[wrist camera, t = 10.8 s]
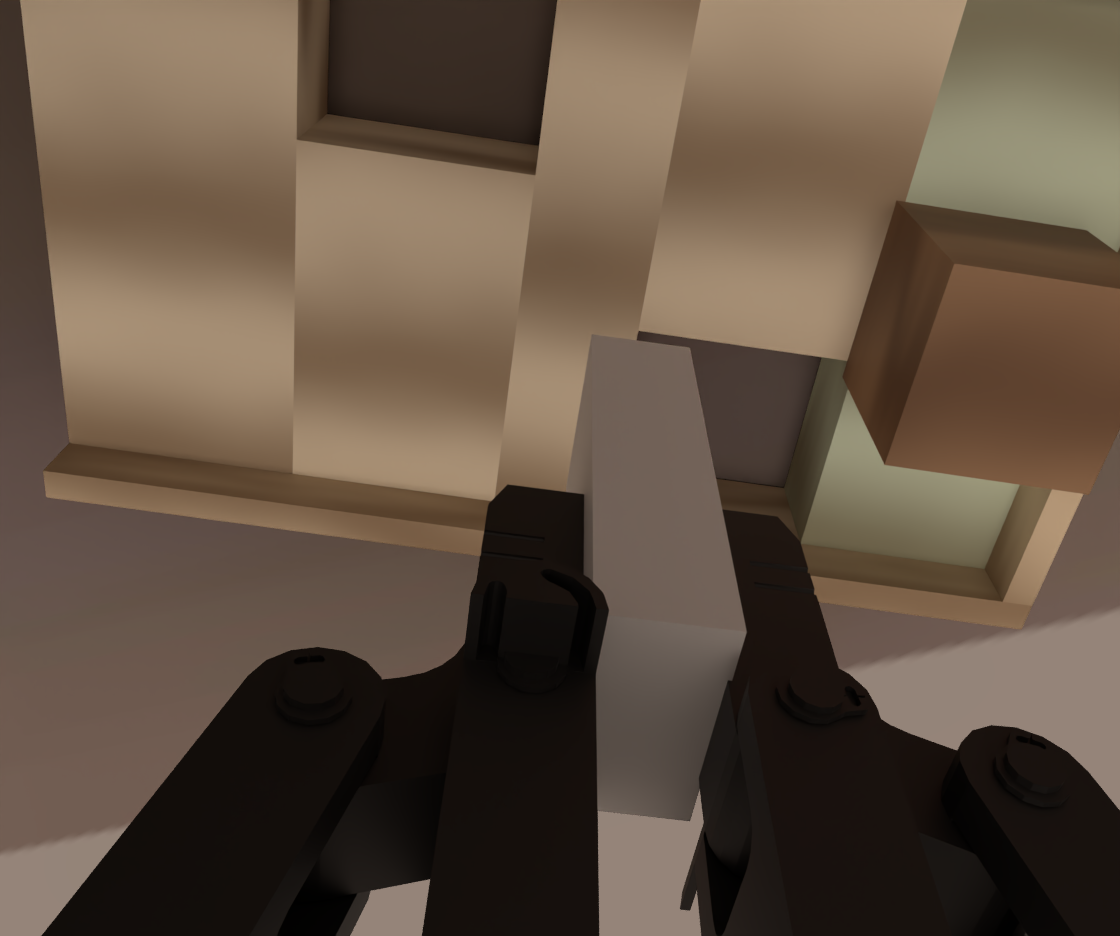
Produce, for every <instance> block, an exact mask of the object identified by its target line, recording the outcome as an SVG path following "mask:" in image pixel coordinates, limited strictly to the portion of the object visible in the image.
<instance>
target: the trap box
mask: <svg viewBox="0 0 1120 936" xmlns="http://www.w3.org/2000/svg"><path fill="white" fill-rule="evenodd" d="M20 3H21V12H22V21H23V30H24V39H25V48H26V57H27V66H28V75H29V84H30V93H31V102H32V111H33V120H34V129H35V138H36V147H37V156H38V165H39V174H40V183H41V192H42V201H43V210H44V219H45V228H46V237H47V246H48V255H49V264H50V273H51V282H52V291H53V300H54V309H55V318H56V327H57V336H58V345H59V354H60V363H61V372H62V381H63V390H64V399H65V408H66V417H67V426H68V435H69V444H68V445H67V446H66V447H65V448H64V449H63V450H62V451H61V452H60V453H59V455H58V456H57V457H56V458H55V459H54V460H53V461H52V462H51V463H50V464H49V465H48V466H47V467H46V468H45V469H44V470H43V474H44V482H45V490H46V497H49V498H56V499H63V500H71V501H78V502H86V503H93V504H100V505H108V506H115V507H122V508H130V509H137V510H144V511H152V512H159V513H167V514H174V515H181V516H189V517H196V518H203V519H211V520H218V521H226V522H233V523H240V524H248V525H255V526H262V527H270V528H277V529H284V530H292V531H299V532H307V533H314V534H321V535H329V536H336V537H343V538H351V539H358V540H366V541H373V542H380V543H388V544H395V545H402V546H410V547H417V548H424V549H432V550H439V551H447V552H454V553H461V554H469V555H476V556H480V555H481V548H482V541H483V535H484V528H485V522H486V515H487V508H488V504H489V503H490V502H491V501H492V500H493V499H494V498H495V497H496V496H497V495H498V494H499V493H500V492H501V491H502V490H503V489H504V488H505V486H506V485H507V484H509V485H517V486H524V487H532V488H540V489H547V490H555V491H563V492H566V485H567V479H568V473H569V467H570V461H571V455H572V449H573V443H574V437H575V431H576V425H577V419H578V413H579V407H580V401H581V395H582V389H583V383H584V377H585V371H586V365H587V359H588V353H589V347H590V341H591V335H592V334H593V335H601V336H608V337H615V338H623V339H630V340H637V335H638V331H644V332H651V333H657V334H664V335H671V336H678V337H685V338H692V339H699V340H706V341H713V342H720V343H727V344H734V345H741V346H747V347H754V348H761V349H768V350H775V351H782V352H789V353H796V354H803V355H810V356H817V357H822V358H821V361H820V365H819V368H818V372H817V375H816V379H815V382H814V386H813V389H812V393H811V396H810V400H809V403H808V407H807V410H806V414H805V417H804V420H803V424H802V427H801V431H800V434H799V438H798V441H797V445H796V448H795V452H794V455H793V459H792V462H791V466H790V469H789V473H788V476H787V480H786V483H785V486H784V488H779V487H772V486H765V485H758V484H751V483H744V482H736V481H729V480H722V479H716V481H717V486H718V491H719V496H720V501H721V506H722V509H724V510H731V511H739V512H747V513H755V514H762V515H770V516H778V518H779V519H780V520H781V521H782V522H783V523H784V524H785V525H786V526H787V527H788V529H789V530H790V531H791V532H792V533H793V534H794V535H795V536H796V537H797V539H798V540H799V541H800V543H801V546H802V549H803V552H804V556H805V559H806V562H807V566H808V573H810V576H811V579H812V582H813V586H814V589H815V591H814V595H817V599H818V602H822V603H830V604H837V605H844V606H852V607H859V608H867V609H874V610H881V611H889V612H896V613H903V614H911V615H918V616H926V617H933V618H940V619H948V620H955V621H962V622H970V623H977V624H984V625H992V626H999V627H1007V628H1014V629H1022V627H1023V625H1024V622H1025V620H1026V618H1027V616H1028V614H1029V612H1030V609H1031V607H1032V605H1033V603H1034V601H1035V598H1036V596H1037V594H1038V592H1039V590H1040V588H1041V585H1042V583H1043V581H1044V579H1045V577H1046V574H1047V572H1048V570H1049V568H1050V566H1051V563H1052V561H1053V559H1054V557H1055V555H1056V553H1057V550H1058V548H1059V546H1060V544H1061V542H1062V539H1063V537H1064V535H1065V533H1066V531H1067V529H1068V526H1069V524H1070V522H1071V520H1072V518H1073V515H1074V513H1075V511H1076V509H1077V507H1078V504H1079V502H1080V500H1081V498H1082V496H1083V494H1080V493H1073V492H1066V491H1059V490H1053V489H1046V488H1039V487H1032V486H1025V485H1018V484H1011V483H1005V482H998V481H991V480H984V479H977V478H970V477H963V476H957V475H950V474H943V473H936V472H929V471H922V470H916V469H909V468H902V467H895V466H888V465H884V463H883V461H882V459H881V457H880V454H879V452H878V450H877V448H876V446H875V444H874V442H873V440H872V438H871V436H870V434H869V432H868V429H867V427H866V425H865V423H864V421H863V419H862V417H861V415H860V413H859V411H858V409H857V407H856V404H855V402H854V400H853V398H852V396H851V394H850V392H849V390H848V388H847V386H846V384H845V382H844V379H843V377H842V376H843V373H844V370H845V367H846V363H847V360H848V357H849V354H850V350H851V347H852V344H853V341H854V338H855V334H856V331H857V328H858V325H859V321H860V318H861V315H862V312H863V308H864V305H865V302H866V299H867V295H868V292H869V289H870V286H871V282H872V279H873V276H874V273H875V269H876V266H877V263H878V260H879V256H880V253H881V250H882V247H883V243H884V240H885V237H886V234H887V230H888V227H889V224H890V221H891V217H892V214H893V211H894V208H895V204H896V201H903V202H910V203H916V204H922V205H929V206H935V207H942V208H948V209H954V210H961V211H967V212H974V213H980V214H986V215H993V216H999V217H1006V218H1012V219H1018V220H1025V221H1031V222H1038V223H1044V224H1050V225H1057V226H1063V227H1070V228H1076V229H1082V230H1087V231H1088V232H1090V233H1091V234H1093V235H1094V236H1095V237H1097V238H1098V239H1099V240H1101V241H1102V242H1104V243H1105V244H1106V245H1108V246H1109V247H1111V248H1112V249H1113V250H1115V251H1116V252H1117V253H1119V254H1120V0H557V8H556V16H555V24H554V32H553V40H552V48H551V56H550V63H549V71H548V79H547V87H546V95H545V103H544V111H543V119H542V127H541V135H540V143H539V146H536V145H530V144H523V143H516V142H510V141H503V140H496V139H490V138H483V137H477V136H470V135H463V134H457V133H450V132H443V131H437V130H430V129H423V128H417V127H410V126H403V125H397V124H390V123H383V122H377V121H370V120H364V119H357V118H350V117H344V116H337V115H330V114H327V99H328V60H329V21H330V0H20Z"/></svg>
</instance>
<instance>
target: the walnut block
mask: <svg viewBox="0 0 1120 936" xmlns="http://www.w3.org/2000/svg"><path fill="white" fill-rule="evenodd" d="M842 377H843V379H844V382H845V384H846V386H847V388H848V390H849V392H850V394H851V396H852V398H853V400H854V402H855V404H856V407H857V409H858V411H859V413H860V415H861V417H862V419H863V421H864V423H865V425H866V427H867V429H868V432H869V434H870V436H871V438H872V440H873V442H874V444H875V446H876V448H877V450H878V452H879V454H880V457H881V459H882V461H883V463H884V465H888V466H895V467H902V468H909V469H916V470H922V471H929V472H936V473H943V474H950V475H957V476H963V477H970V478H977V479H984V480H991V481H998V482H1005V483H1011V484H1018V485H1025V486H1032V487H1039V488H1046V489H1053V490H1059V491H1066V492H1073V493H1080V494H1087V495H1089V493H1090V491H1091V489H1092V487H1093V485H1094V483H1095V481H1096V479H1097V476H1098V474H1099V472H1100V470H1101V468H1102V466H1103V464H1104V461H1105V459H1106V457H1107V455H1108V453H1109V451H1110V449H1111V446H1112V444H1113V442H1114V440H1115V438H1116V436H1117V434H1118V431H1119V429H1120V254H1119V253H1117V252H1116V251H1115V250H1113V249H1112V248H1111V247H1109V246H1108V245H1106V244H1105V243H1104V242H1102V241H1101V240H1099V239H1098V238H1097V237H1095V236H1094V235H1093V234H1091V233H1090V232H1088V231H1087V230H1082V229H1076V228H1070V227H1063V226H1057V225H1050V224H1044V223H1038V222H1031V221H1025V220H1018V219H1012V218H1006V217H999V216H993V215H986V214H980V213H974V212H967V211H961V210H954V209H948V208H942V207H935V206H929V205H922V204H916V203H910V202H903V201H896V204H895V208H894V211H893V214H892V217H891V221H890V224H889V227H888V230H887V234H886V237H885V240H884V243H883V247H882V250H881V253H880V256H879V260H878V263H877V266H876V269H875V273H874V276H873V279H872V282H871V286H870V289H869V292H868V295H867V299H866V302H865V305H864V308H863V312H862V315H861V318H860V321H859V325H858V328H857V331H856V334H855V338H854V341H853V344H852V347H851V350H850V354H849V357H848V360H847V363H846V367H845V370H844V373H843V376H842Z"/></svg>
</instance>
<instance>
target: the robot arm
mask: <svg viewBox="0 0 1120 936" xmlns="http://www.w3.org/2000/svg"><path fill="white" fill-rule="evenodd" d="M814 591H815V589H814V586H813V582H812V579H811V576H810V573H808V566H807V562H806V559H805V556H804V552H803V549H802V546H801V543H800V541H799V540H798V539H797V537H796V536H795V535H794V534H793V533H792V532H791V531H790V530H789V529H788V527H787V526H786V525H785V524H784V523H783V522H782V521H781V520H780V519H779V518H778V516H770V515H762V514H755V513H747V512H739V511H731V510H724V509H722V506H721V501H720V496H719V491H718V486H717V481H716V476H715V471H714V466H713V461H712V456H711V451H710V446H709V441H708V436H707V431H706V426H705V421H704V416H703V411H702V406H701V401H700V396H699V391H698V386H697V381H696V376H695V371H694V366H693V361H692V356H691V351H690V348H688V347H681V346H674V345H666V344H659V343H652V342H644V341H637V340H630V339H623V338H615V337H608V336H601V335H593V334H592V335H591V341H590V347H589V353H588V359H587V365H586V371H585V377H584V383H583V389H582V395H581V401H580V407H579V413H578V419H577V425H576V431H575V437H574V443H573V449H572V455H571V461H570V467H569V473H568V479H567V485H566V492H563V491H555V490H547V489H540V488H532V487H524V486H517V485H509V484H507V485H506V486H505V488H504V489H503V490H502V491H501V492H500V493H499V494H498V495H497V496H496V497H495V498H494V499H493V500H492V501H491V502H490V503H489V504H488V508H487V515H486V522H485V528H484V535H483V541H482V548H481V555H480V561H479V568H478V574H477V581H476V584H475V586H474V588H473V590H472V592H471V597H470V606H469V614H468V623H467V631H466V640H465V644H464V645H463V646H462V648H461V649H460V650H459V651H458V653H457V654H456V655H455V656H454V657H453V658H451V659H450V660H448V661H447V662H446V663H444V664H443V665H441V666H439V667H437V668H434V669H432V670H430V671H427V672H425V673H421V674H416V675H411V676H407V677H400V678H392V679H384V680H382V679H381V677H380V676H379V675H378V673H377V672H376V671H375V670H374V669H373V668H372V667H371V666H370V665H369V664H368V663H367V662H366V661H364V660H362V659H360V658H358V657H356V656H354V655H352V654H349V653H347V652H345V651H340V650H334V649H327V648H320V647H315V648H307V649H298V650H290V651H288V652H285V653H283V654H281V655H278V656H276V657H273V658H271V659H268V660H266V661H265V662H264V663H262V664H261V665H260V666H259V667H258V668H257V669H255V670H254V671H253V672H252V673H251V674H250V675H248V676H247V678H246V679H245V680H244V681H243V683H242V684H241V685H240V686H239V688H238V689H237V690H236V692H235V693H234V694H233V695H232V697H231V698H230V699H229V700H228V702H227V703H226V704H225V705H224V707H223V708H222V709H221V710H220V712H219V713H218V714H217V715H216V717H215V718H214V719H213V720H212V722H211V723H210V724H209V726H208V727H207V728H206V729H205V731H204V732H203V733H202V734H201V736H200V737H199V738H198V739H197V741H196V742H195V743H194V744H193V746H192V747H191V748H190V749H189V751H188V752H187V753H186V754H185V756H184V757H183V758H182V760H181V761H180V762H179V763H178V765H177V766H176V767H175V768H174V770H173V771H172V772H171V773H170V775H169V776H168V777H167V778H166V780H165V781H164V782H163V783H162V785H161V786H160V787H159V788H158V790H157V791H156V792H155V794H154V795H153V796H152V797H151V799H150V800H149V801H148V802H147V804H146V805H145V806H144V807H143V809H142V810H141V811H140V812H139V814H138V815H137V816H136V817H135V819H134V820H133V821H132V822H131V824H130V825H129V826H128V828H127V829H126V830H125V831H124V833H123V834H122V835H121V836H120V838H119V839H118V840H117V842H116V843H115V844H114V845H113V846H112V848H111V849H110V850H109V851H108V853H107V854H106V855H105V856H104V858H103V859H102V860H101V862H100V863H99V864H98V865H97V867H96V868H95V869H94V870H93V872H92V873H91V874H90V875H89V877H88V878H87V879H86V880H85V882H84V883H83V884H82V885H81V887H80V888H79V889H78V890H77V892H76V893H75V894H74V896H73V897H72V898H71V899H70V901H69V902H68V903H67V904H66V906H65V907H64V908H63V909H62V911H61V912H60V913H59V915H58V916H57V917H56V918H55V920H54V921H53V922H52V923H51V925H50V926H49V927H48V928H47V930H46V931H45V932H44V933H43V935H42V936H350V935H351V933H352V931H353V929H354V927H355V925H356V923H357V921H358V919H359V916H360V915H361V913H362V911H363V908H364V907H365V904H366V903H367V901H368V898H369V894H370V891H371V890H376V889H381V888H387V887H392V886H397V885H402V884H407V883H412V882H418V881H422V880H428V879H430V885H429V892H428V898H427V906H426V912H425V919H424V925H423V933H422V936H599V891H598V890H599V886H598V812H597V811H605V812H613V813H622V814H631V815H640V816H648V817H657V818H666V819H675V820H684V821H690V819H691V816H692V813H693V809H694V805H695V802H696V799H697V796H698V792H699V789H700V794H701V803H702V811H703V820H704V824H703V827H702V831H701V833H700V837H699V840H698V843H697V846H696V850H695V853H694V856H693V859H692V862H691V866H690V869H689V872H688V875H687V878H686V882H685V885H684V888H683V892H682V899H681V906H680V909H681V910H690V909H691V906H692V903H693V900H694V897H695V894H696V891H697V895H698V905H699V915H700V926H701V936H1120V810H1119V809H1118V808H1117V807H1116V805H1115V804H1114V803H1113V802H1112V801H1111V799H1110V798H1109V797H1108V796H1107V794H1106V793H1105V792H1104V791H1103V789H1102V788H1101V787H1100V786H1099V784H1098V783H1097V782H1096V781H1095V780H1094V778H1093V777H1092V776H1091V775H1090V773H1089V772H1088V771H1087V770H1086V769H1085V768H1084V767H1083V766H1082V765H1080V763H1078V762H1077V761H1076V760H1075V759H1074V758H1073V757H1072V756H1071V755H1070V754H1069V753H1068V752H1067V751H1065V750H1063V749H1062V748H1060V747H1058V746H1057V745H1055V744H1053V743H1052V742H1050V741H1048V740H1047V739H1045V738H1044V737H1041V736H1039V735H1036V734H1033V733H1030V732H1027V731H1024V730H1021V729H1019V728H1015V727H1003V726H992V725H991V726H987V727H984V728H980V729H976V730H973V731H972V732H971V733H970V734H969V735H968V736H967V737H966V738H965V739H964V740H963V741H962V742H961V744H960V746H959V749H958V750H957V751H956V750H953V749H951V748H948V747H945V746H943V745H939V744H937V743H934V742H931V741H928V740H926V739H923V738H920V737H917V736H915V735H912V734H909V733H907V732H905V731H903V730H900V729H898V728H896V727H894V726H891V725H889V724H888V723H886V722H885V721H883V720H881V718H880V715H879V712H878V709H877V707H876V705H875V703H874V702H873V700H872V698H871V696H870V695H869V693H868V691H867V690H866V689H865V688H864V687H863V686H862V685H861V684H860V683H859V682H857V681H856V680H855V679H854V678H853V677H852V676H851V675H850V674H848V673H846V672H844V671H843V670H841V669H839V668H838V665H837V662H836V658H835V655H834V652H833V648H832V645H831V642H830V638H829V635H828V632H827V628H826V625H825V622H824V619H823V615H822V612H821V609H820V605H819V602H818V599H817V595H814Z"/></svg>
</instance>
